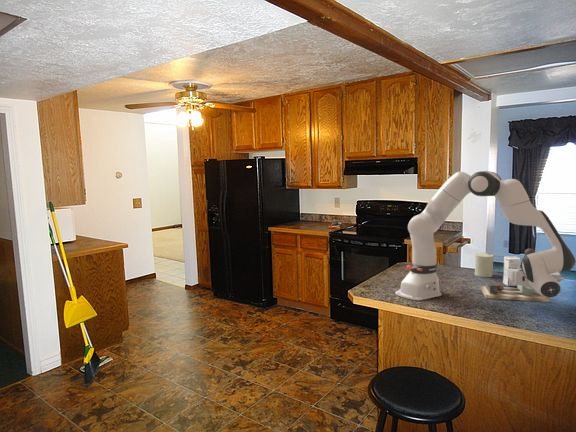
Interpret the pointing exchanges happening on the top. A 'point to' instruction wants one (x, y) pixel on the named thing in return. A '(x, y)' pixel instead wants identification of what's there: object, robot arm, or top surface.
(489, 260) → the can
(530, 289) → the press handle
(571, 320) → the top surface
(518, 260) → the syrup box
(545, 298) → the press frame
